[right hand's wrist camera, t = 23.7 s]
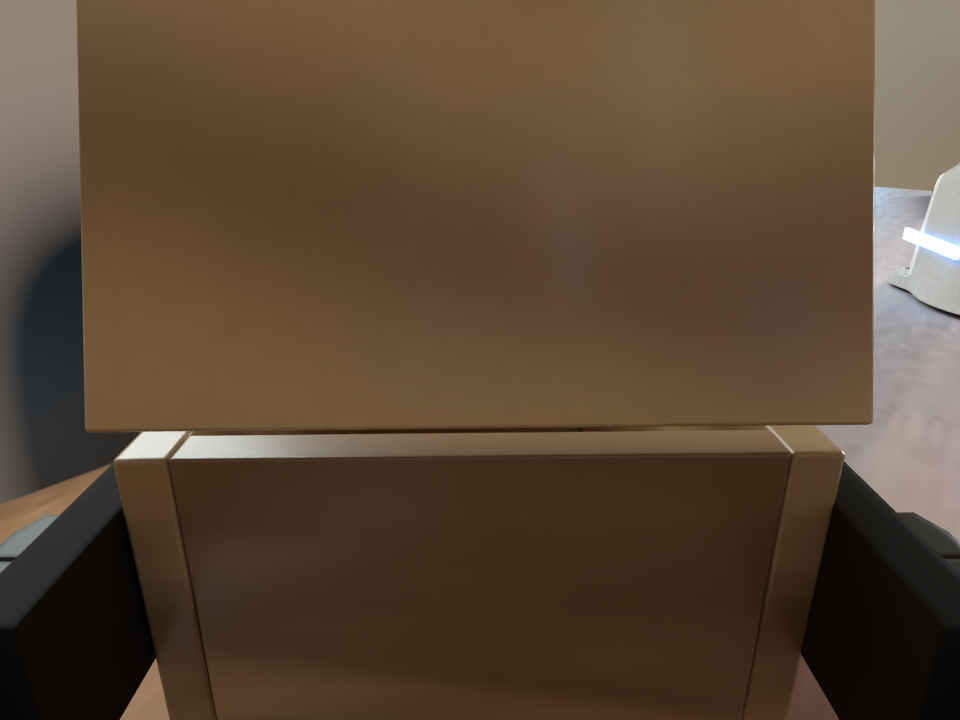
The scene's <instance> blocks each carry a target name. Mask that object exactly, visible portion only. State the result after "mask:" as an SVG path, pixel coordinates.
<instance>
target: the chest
mask: <svg viewBox="0 0 960 720" xmlns="http://www.w3.org/2000/svg"><path fill="white" fill-rule="evenodd" d="M844 458H845V456H844V452H843V451H842V450H841V449H840V448H839V447H838V446H837V445H835V444H834V443H833V442H832V441H831V440H830V439H829V438H828V437H827V436H826V435H825V434H823V433H822V432H821V431H820V430H819V429H818V428H817V427H816V426H815V425H779V426H677V427H576V428H474V429H372V430H270V431H168V432H141V433H140V434H139V435H138V436H137V437H136V438H135V439H134V440H133V441H132V442H131V443H130V444H129V445H128V446H127V447H126V448H125V449H124V450H123V451H122V452H121V453H120V454H119V455H118V456H117V457H116V458H115V460H114V464H113V467H114V471H115V476H116V480H117V485H118V489H119V494H120V498H121V503H122V507H123V512H124V516H125V521H126V525H127V530H128V534H129V538H130V543H131V547H132V552H133V556H134V561H135V565H136V570H137V574H138V579H139V583H140V588H141V592H142V597H143V601H144V606H145V610H146V615H147V619H148V624H149V628H150V633H151V637H152V642H153V646H154V651H155V655H156V660H157V664H158V669H159V673H160V678H161V682H162V686H163V691H164V695H165V700H166V704H167V709H168V713H169V718H170V720H787V716H788V711H789V707H790V702H791V698H792V693H793V689H794V684H795V680H796V675H797V670H798V666H799V661H800V657H801V650H802V646H803V641H804V636H805V632H806V627H807V623H808V618H809V614H810V609H811V605H812V600H813V596H814V591H815V587H816V582H817V578H818V573H819V568H820V564H821V559H822V555H823V550H824V546H825V541H826V537H827V532H828V528H829V523H830V519H831V514H832V510H833V505H834V503H835V499H836V494H837V490H838V485H839V481H840V476H841V471H842V467H843V462H844Z"/></svg>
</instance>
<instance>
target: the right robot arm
mask: <svg viewBox="0 0 960 720" xmlns="http://www.w3.org/2000/svg"><path fill="white" fill-rule="evenodd" d="M113 464H114V463H113ZM113 464H112V465H111V466H110V467H109V468H108V469H107V470H106V471H105V472H104V473H103V474H102V475H100V476H99V477H98V478H97V479H96V480H95V481H94V482H93V483H92V484H91V485H90V486H89V487H88V488H87V489H86V490H85V491H84V492H83V493H82V494H81V495H80V496H79V497H78V498H77V499H76V500H75V501H74V502H73V503H72V504H71V505H70V506H69V507H68V508H67V509H66V510H65V511H64V512H62V513H61V514H60V515H45V516H43V517H41V518H39V519H38V520H36V521H34V522H32V523H31V524H29V525H27V526H25V527H23V528H22V529H20V530H18V531H16V532H15V533H13V534H11V535H10V536H9V537H8V538H7V539H6V540H5V541H4V542H2V543H1V544H0V720H120V718H121V716H122V715H123V713H124V711H125V709H126V708H127V706H128V704H129V703H130V701H131V699H132V698H133V696H134V694H135V692H136V691H137V689H138V687H139V686H140V684H141V682H142V680H143V679H144V677H145V675H146V674H147V672H148V670H149V669H150V667H151V665H152V663H153V662H154V660H155V658H156V655H155V651H154V646H153V642H152V637H151V633H150V628H149V624H148V619H147V615H146V610H145V606H144V601H143V597H142V592H141V588H140V583H139V579H138V574H137V570H136V565H135V561H134V556H133V552H132V547H131V543H130V538H129V534H128V530H127V525H126V521H125V516H124V512H123V507H122V503H121V498H120V494H119V489H118V485H117V480H116V476H115V471H114V467H113ZM801 655H802V657H803V658H804V660H805V662H806V663H807V665H808V667H809V668H810V670H811V672H812V674H813V675H814V677H815V679H816V680H817V682H818V684H819V685H820V687H821V689H822V691H823V692H824V694H825V696H826V697H827V699H828V701H829V703H830V704H831V706H832V708H833V709H834V711H835V713H836V714H837V716H838V718H839V720H960V542H959V541H958V540H956V539H955V538H954V537H953V536H952V535H951V534H950V533H949V532H947V531H946V530H944V529H942V528H940V527H939V526H937V525H935V524H933V523H931V522H930V521H928V520H926V519H924V518H923V517H921V516H919V515H917V514H915V513H896V512H895V511H894V510H893V509H892V508H891V507H890V506H889V505H888V504H887V503H886V502H885V501H884V500H883V499H882V498H881V497H880V496H879V495H878V494H877V493H876V492H875V491H874V490H873V489H872V488H871V487H870V486H869V485H868V484H867V483H866V482H865V481H864V480H863V479H862V478H861V477H859V476H858V475H857V474H856V473H855V472H854V471H853V470H852V469H851V468H850V467H849V466H848V465H847V464H846V463H845V462H843V467H842V471H841V476H840V481H839V485H838V490H837V494H836V499H835V503H834V505H833V510H832V514H831V519H830V523H829V528H828V532H827V537H826V541H825V546H824V550H823V555H822V559H821V564H820V568H819V573H818V578H817V582H816V587H815V591H814V596H813V600H812V605H811V609H810V614H809V618H808V623H807V627H806V632H805V636H804V641H803V646H802V650H801Z"/></svg>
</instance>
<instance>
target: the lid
mask: <svg viewBox="0 0 960 720" xmlns="http://www.w3.org/2000/svg"><path fill="white" fill-rule="evenodd" d="M77 45H78V93H79V143H80V193H81V242H82V291H83V340H84V389H85V429H86V431H89V432H168V431H270V430H372V429H474V428H576V427H677V426H779V425H868V424H870V423H872V421H873V303H874V128H875V0H77Z"/></svg>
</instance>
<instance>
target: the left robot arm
mask: <svg viewBox="0 0 960 720" xmlns="http://www.w3.org/2000/svg"><path fill="white" fill-rule="evenodd" d="M903 239H905V240H907V241H910V242H912V243H915V244H917V246H916V249H915V252H914V256H913V259H912V262H911V266H907V267H900V268H894V269H891V270H890V273H889V276H888V279H887V282H888V283H890V284H892V285H895V286H897V287H900V288H903V289H906V290H908V291H909V292H910V293H911V294H912V295H913V296H914V297H916V298H917V299H919V300H920V301H922V302H924V303H926V304H928V305H931V306H933V307H936V308H938V309H941V310H944V311H947V312H951V313H954V314H957V315H960V163H959V164H958V165H957V166H955V167H954V168H952V169H950V170H948V171H947V172H946V173H944V174H942V175H941V176H940V177H939V178H938V180H937V182H936V185H935V188H934V189H933V191H932V197H931V200H930V204H929V207H928V210H927V213H926V216H925V220H924V223H923V226H922V229H921V232H919V231H916V230H913V229H911V228H905V231H904V235H903Z"/></svg>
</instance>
